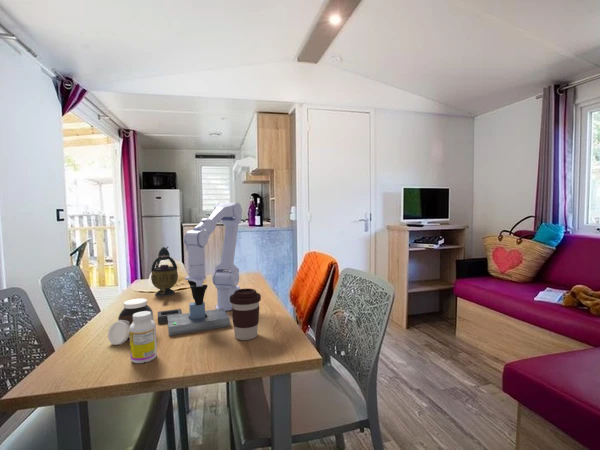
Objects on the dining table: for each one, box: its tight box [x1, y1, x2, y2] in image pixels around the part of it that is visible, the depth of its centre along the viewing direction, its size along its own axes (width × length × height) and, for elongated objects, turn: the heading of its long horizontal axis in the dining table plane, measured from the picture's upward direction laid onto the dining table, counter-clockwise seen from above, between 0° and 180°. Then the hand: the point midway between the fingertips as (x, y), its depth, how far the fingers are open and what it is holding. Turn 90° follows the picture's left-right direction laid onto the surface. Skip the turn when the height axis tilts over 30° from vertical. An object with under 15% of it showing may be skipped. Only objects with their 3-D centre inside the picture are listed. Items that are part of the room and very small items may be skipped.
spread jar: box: [107, 297, 155, 346], centre depth 104 cm, size 12×11×12 cm
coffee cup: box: [230, 288, 262, 341], centre depth 105 cm, size 10×10×15 cm
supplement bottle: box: [129, 311, 158, 364], centre depth 90 cm, size 7×7×13 cm
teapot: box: [150, 246, 179, 298], centre depth 153 cm, size 12×25×23 cm, turn 18°
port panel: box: [167, 308, 231, 337], centre depth 116 cm, size 20×12×3 cm, turn 114°
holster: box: [157, 308, 183, 324], centre depth 122 cm, size 8×6×2 cm
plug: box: [188, 300, 206, 320], centre depth 115 cm, size 5×3×8 cm, turn 114°
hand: (197, 301), depth 115 cm, fingers open, 7 cm apart
